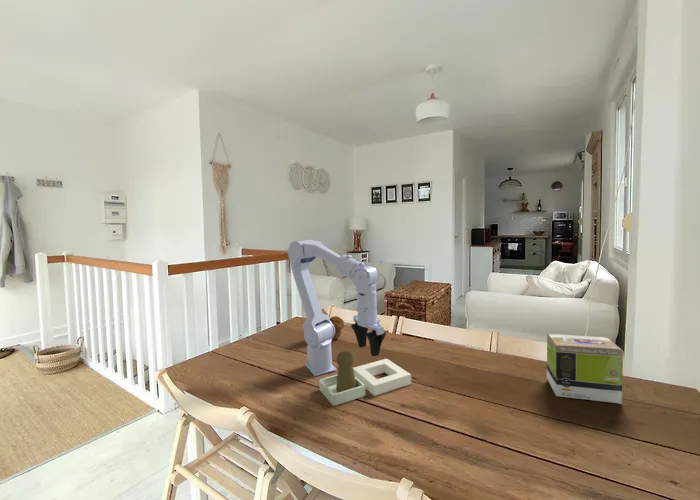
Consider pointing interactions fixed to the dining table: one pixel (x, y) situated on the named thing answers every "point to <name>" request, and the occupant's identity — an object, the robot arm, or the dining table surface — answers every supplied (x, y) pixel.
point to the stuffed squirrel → (335, 324)
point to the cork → (345, 371)
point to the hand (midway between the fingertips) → (368, 350)
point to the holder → (385, 384)
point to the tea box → (585, 367)
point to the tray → (336, 398)
